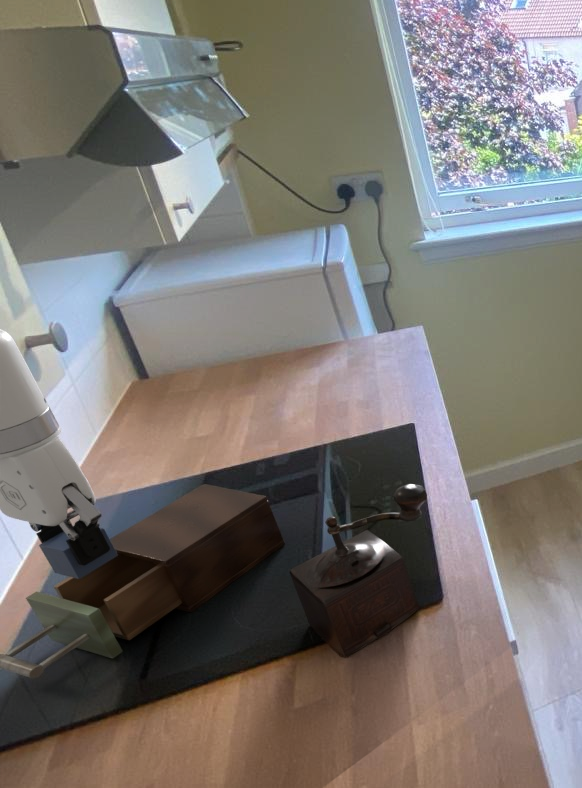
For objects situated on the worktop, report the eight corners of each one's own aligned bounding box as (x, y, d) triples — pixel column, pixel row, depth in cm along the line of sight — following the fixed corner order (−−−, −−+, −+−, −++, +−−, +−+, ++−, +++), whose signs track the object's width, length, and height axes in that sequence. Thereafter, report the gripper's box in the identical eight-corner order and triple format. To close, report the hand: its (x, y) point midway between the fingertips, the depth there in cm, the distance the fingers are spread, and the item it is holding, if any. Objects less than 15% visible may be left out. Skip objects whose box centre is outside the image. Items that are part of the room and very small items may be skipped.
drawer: (54, 700, 87) (26, 655, 84) (-9, 679, 90) (-39, 635, 87) (216, 584, 104) (198, 544, 101) (158, 570, 107) (139, 530, 104)
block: (79, 579, 91) (63, 551, 89) (54, 573, 92) (38, 545, 91) (118, 555, 95) (104, 527, 93) (94, 549, 96) (79, 522, 94)
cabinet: (190, 613, 101) (165, 561, 97) (125, 595, 104) (98, 545, 100) (285, 544, 113) (266, 496, 110) (224, 530, 117) (203, 483, 113)
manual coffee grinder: (345, 663, 92) (302, 550, 85) (306, 624, 98) (263, 516, 91) (459, 589, 104) (430, 484, 96) (418, 559, 110) (388, 458, 102)
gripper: (-77, 439, 84) (0, 562, 92) (22, 459, 80) (94, 587, 88) (3, 407, 91) (69, 525, 99) (99, 424, 86) (159, 546, 94)
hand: (80, 553), depth 93 cm, fingers closed on block, 4 cm apart
